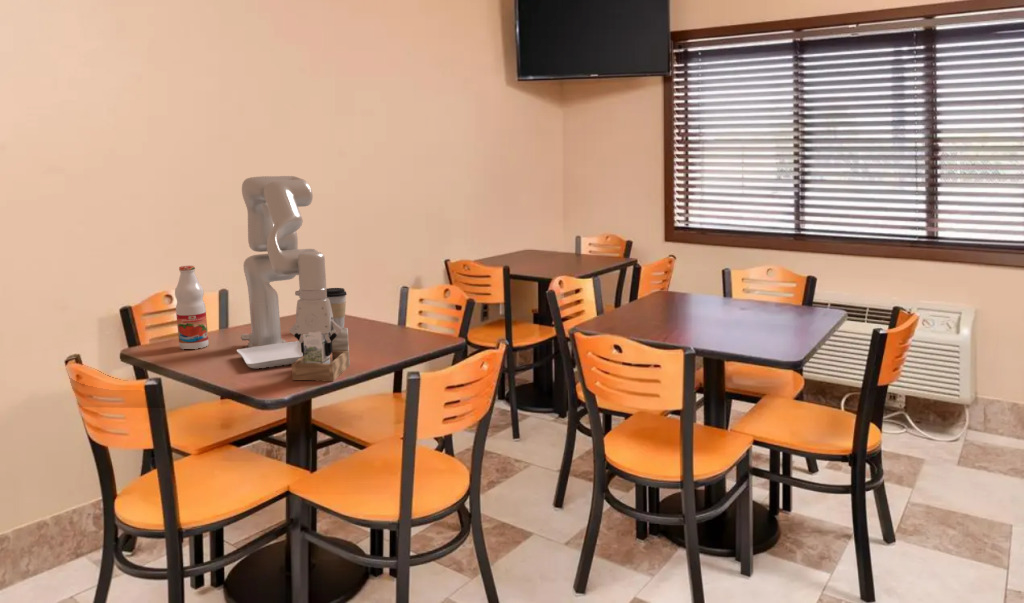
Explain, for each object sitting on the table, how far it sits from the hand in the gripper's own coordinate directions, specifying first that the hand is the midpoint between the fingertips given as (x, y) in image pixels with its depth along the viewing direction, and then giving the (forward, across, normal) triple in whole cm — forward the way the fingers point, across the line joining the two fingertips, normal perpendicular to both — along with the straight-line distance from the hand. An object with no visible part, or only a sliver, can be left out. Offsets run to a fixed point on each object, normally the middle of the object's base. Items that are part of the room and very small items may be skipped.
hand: (317, 354), depth 227 cm
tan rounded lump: (+7, 0, +7) cm, 10 cm away
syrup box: (+7, 0, 0) cm, 7 cm away
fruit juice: (+7, -55, +35) cm, 66 cm away
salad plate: (+7, -20, +18) cm, 28 cm away
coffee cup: (+7, -14, +64) cm, 66 cm away
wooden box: (+7, 0, +3) cm, 7 cm away
